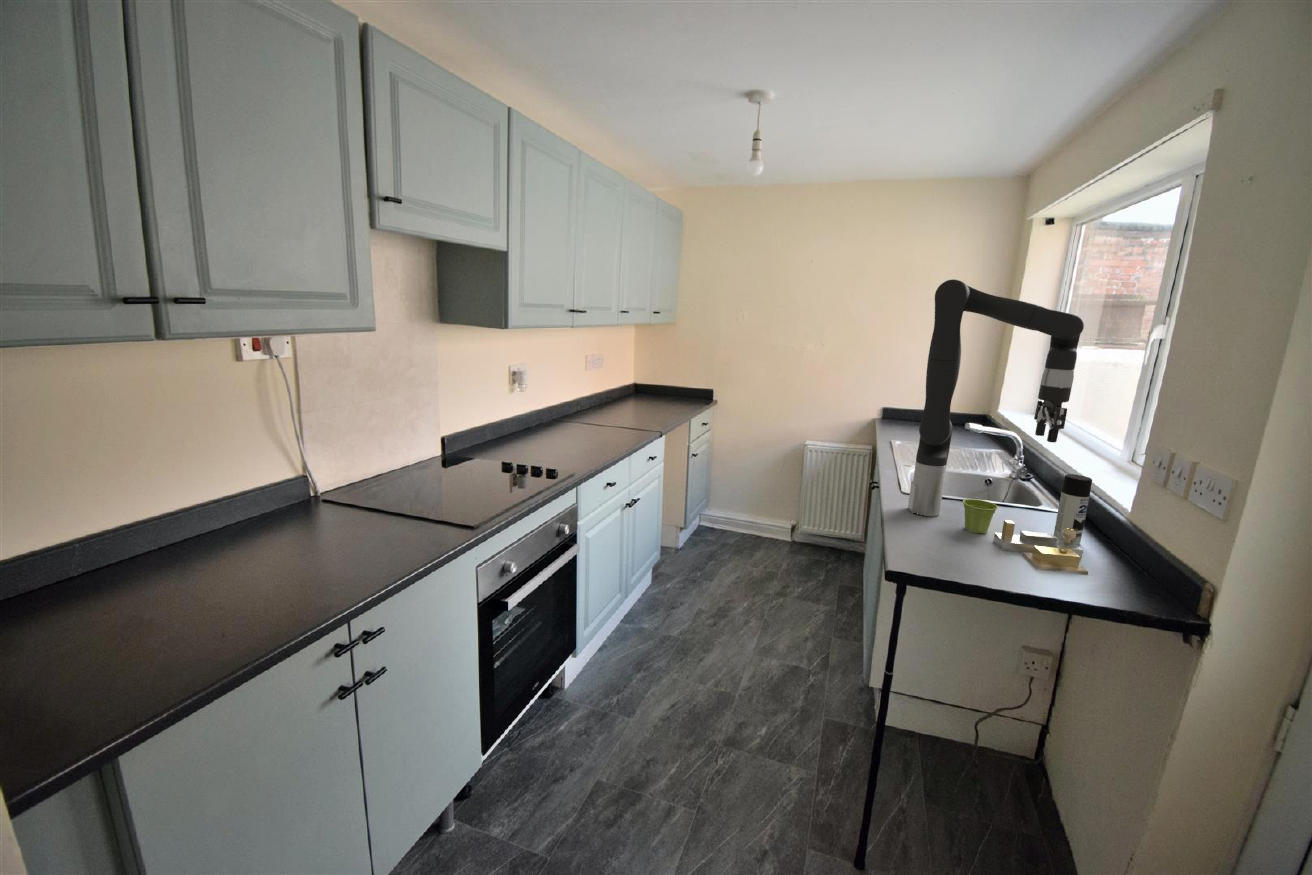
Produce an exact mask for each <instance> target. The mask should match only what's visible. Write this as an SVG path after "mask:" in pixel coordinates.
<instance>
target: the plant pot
mask: <svg viewBox="0 0 1312 875" xmlns="http://www.w3.org/2000/svg"><path fill="white" fill-rule="evenodd" d="M962 503H963V508H964V529H965V530H967V531H968V532H970V533H973V534H982V535H983V534H987V533H988V530H989V527H990V525H991V522H992V519H993V517H994V514H995V512H996V511H997V509H998V508H999V507H998V505H997V504H995V503H993V502H990V501H986V500H982V499H977V498H970V499H969V498H967V499H966V498H965V499H963V500H962Z"/></svg>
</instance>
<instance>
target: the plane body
mask: <svg viewBox="0 0 1312 875" xmlns="http://www.w3.org/2000/svg"><path fill="white" fill-rule="evenodd" d="M1015 526H1016V523H1015V522H1014V521H1013V520H1012V519H1011V520H1010V519H1009V520H1008V519H1004V520H1003V526H1002V530H1001V532H994V535H993V540H992V541H993V542H994V543H995V544H996V545H997V546H998V547H999V549H1001V551H1005V552H1006V551H1008V552H1017V553H1019V552H1020V553H1023V552H1026V553H1033V549H1034V546H1042V547H1052V548H1062V549H1071V550H1072V551H1074V552H1075V553H1076V554H1077V555H1078V556H1080V559H1083V553H1084V549H1083V548H1082V547H1080V546H1079V545H1077V544H1075V543H1074V542H1073V541H1072V540H1071V539H1073V538H1075V537H1076V532H1075V530H1074V529H1072V528H1065V529H1064V530H1063V531H1062V535H1063V537H1064V538H1065V539H1057V538H1056V537H1055V536H1054V533H1049V532H1039V531H1029V530H1028V531H1027V530H1020V533H1019V534H1014V530H1015Z"/></svg>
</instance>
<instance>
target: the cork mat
mask: <svg viewBox="0 0 1312 875" xmlns="http://www.w3.org/2000/svg"><path fill="white" fill-rule="evenodd" d="M1032 554H1033V553H1026V552H1022V556H1023V557H1024V558H1025V559H1026V560H1027V561H1028V562H1029V563H1030V564H1031V565H1032V566H1033V567H1034V568H1035V570H1044V571H1053V572H1060V573H1061V572H1062V573H1070V574H1079V573H1084V574H1083V575H1089V570H1087V569H1086V568H1085V567H1084V566H1083V565H1081V564H1080V563H1079V566H1078V568H1077V567H1068V566H1058V565H1049V564H1040V563H1039V562H1038V561H1037V560H1036V559H1035V558H1034V557H1033V556H1032Z"/></svg>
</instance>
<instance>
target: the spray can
mask: <svg viewBox="0 0 1312 875" xmlns="http://www.w3.org/2000/svg"><path fill="white" fill-rule="evenodd" d="M1092 484H1093V479H1092V478H1091V477H1090V476H1085V475H1080V474H1074V473H1068V474H1065V475H1064V476H1063V482H1062V487H1061V493H1060V499H1059V502H1058V503H1059V504H1058V508H1057V509H1058V510H1057V513H1056V520H1055V525H1054V530H1053V535H1054V536H1055V537H1056V538H1057V539H1065V538H1064V537H1063V535H1062V531H1063V530H1064V529H1065V528H1072V529H1074V530H1075V532H1076V537H1075V538H1073V539H1071V540H1072V541H1073V542H1074V543H1075V544H1077V545H1078V546H1079V545H1081V541H1082V536H1083V532H1084V526H1085V520H1086V518H1087V516H1086V515H1087V512H1088V506H1089V501H1090V496H1091V490H1092Z"/></svg>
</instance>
